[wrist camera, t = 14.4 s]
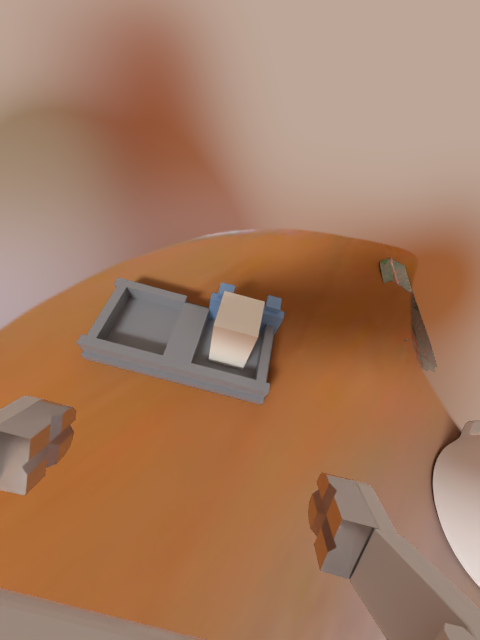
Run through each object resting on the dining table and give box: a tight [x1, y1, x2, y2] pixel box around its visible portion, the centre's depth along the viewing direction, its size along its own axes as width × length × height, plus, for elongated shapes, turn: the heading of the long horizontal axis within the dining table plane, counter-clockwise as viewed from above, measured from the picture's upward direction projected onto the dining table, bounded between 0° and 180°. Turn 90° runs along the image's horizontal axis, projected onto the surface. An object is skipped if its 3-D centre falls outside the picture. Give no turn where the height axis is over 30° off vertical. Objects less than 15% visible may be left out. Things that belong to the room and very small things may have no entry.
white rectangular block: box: [208, 291, 265, 370], centre depth 27 cm, size 4×4×8 cm
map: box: [380, 258, 437, 372], centre depth 40 cm, size 5×20×1 cm, turn 176°
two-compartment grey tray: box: [76, 278, 285, 405], centre depth 28 cm, size 20×11×6 cm, turn 78°
